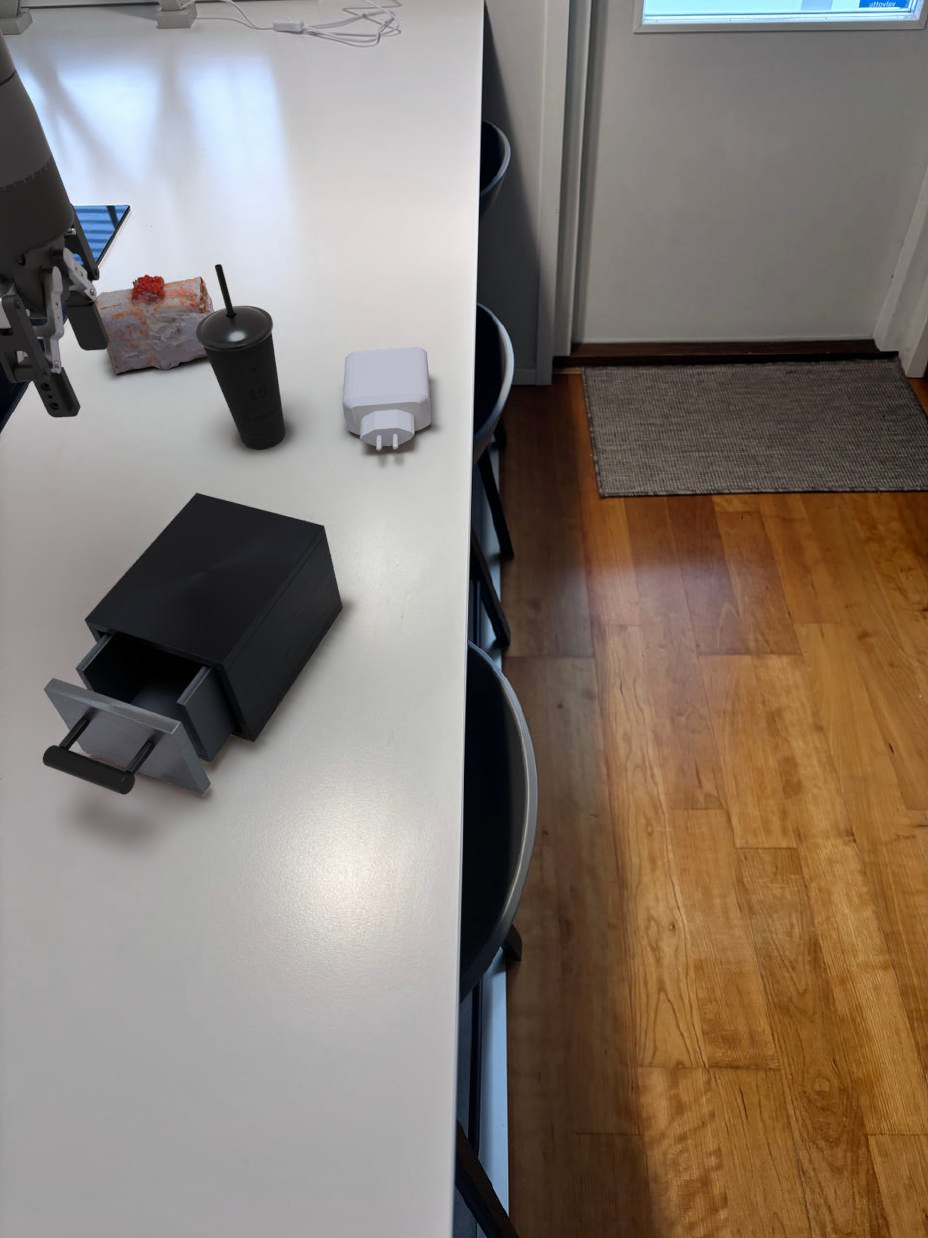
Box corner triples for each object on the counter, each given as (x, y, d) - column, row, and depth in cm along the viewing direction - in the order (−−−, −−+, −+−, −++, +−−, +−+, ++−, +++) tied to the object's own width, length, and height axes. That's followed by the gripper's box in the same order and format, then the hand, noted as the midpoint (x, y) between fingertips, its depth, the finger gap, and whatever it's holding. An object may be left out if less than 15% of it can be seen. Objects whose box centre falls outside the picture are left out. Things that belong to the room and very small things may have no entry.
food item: (222, 328, 120) (201, 254, 113) (227, 362, 115) (206, 287, 108) (113, 348, 118) (84, 274, 111) (113, 384, 113) (83, 309, 106)
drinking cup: (215, 436, 105) (162, 266, 90) (272, 406, 108) (230, 237, 93) (253, 467, 101) (204, 295, 86) (311, 435, 104) (274, 264, 89)
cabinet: (254, 742, 78) (223, 663, 70) (126, 698, 81) (83, 619, 74) (343, 607, 87) (324, 525, 79) (225, 574, 91) (196, 492, 83)
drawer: (171, 843, 71) (136, 783, 65) (48, 795, 74) (3, 734, 68) (295, 658, 82) (276, 592, 76) (184, 624, 86) (156, 557, 79)
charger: (346, 470, 100) (350, 387, 110) (433, 464, 100) (429, 381, 110) (339, 434, 96) (344, 351, 106) (429, 427, 96) (426, 345, 106)
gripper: (-31, 117, 64) (59, 330, 76) (-117, 215, 55) (2, 441, 67) (78, 110, 64) (151, 325, 76) (11, 208, 54) (107, 436, 66)
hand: (81, 379), depth 71 cm, fingers open, 8 cm apart
